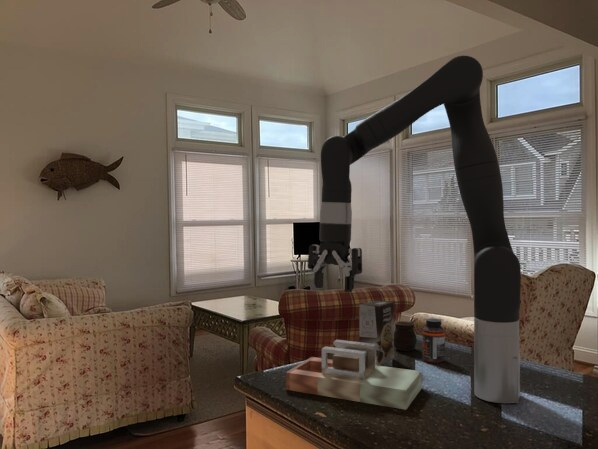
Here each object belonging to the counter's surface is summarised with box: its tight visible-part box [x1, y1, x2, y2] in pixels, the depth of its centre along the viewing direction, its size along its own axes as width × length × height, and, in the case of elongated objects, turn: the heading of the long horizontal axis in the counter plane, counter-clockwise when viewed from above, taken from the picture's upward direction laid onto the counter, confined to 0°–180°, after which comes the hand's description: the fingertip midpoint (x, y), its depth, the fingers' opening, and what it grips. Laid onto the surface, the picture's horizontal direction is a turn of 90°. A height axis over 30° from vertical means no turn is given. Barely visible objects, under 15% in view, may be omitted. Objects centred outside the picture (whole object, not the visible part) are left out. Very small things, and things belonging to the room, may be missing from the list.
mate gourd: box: [394, 317, 418, 352], centre depth 149 cm, size 7×8×10 cm
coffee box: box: [358, 299, 395, 366], centre depth 137 cm, size 9×6×16 cm
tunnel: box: [321, 339, 376, 380], centre depth 115 cm, size 10×9×6 cm
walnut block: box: [332, 354, 366, 371], centre depth 115 cm, size 6×6×4 cm
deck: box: [285, 356, 422, 411], centre depth 115 cm, size 28×14×4 cm, turn 64°
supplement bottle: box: [422, 318, 446, 364], centre depth 137 cm, size 6×6×11 cm
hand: (333, 289), depth 118 cm, fingers open, 8 cm apart
